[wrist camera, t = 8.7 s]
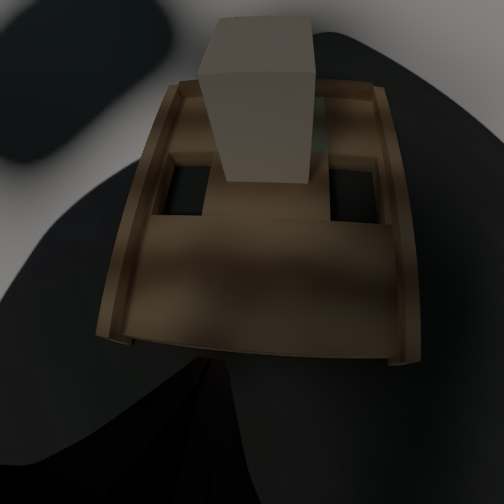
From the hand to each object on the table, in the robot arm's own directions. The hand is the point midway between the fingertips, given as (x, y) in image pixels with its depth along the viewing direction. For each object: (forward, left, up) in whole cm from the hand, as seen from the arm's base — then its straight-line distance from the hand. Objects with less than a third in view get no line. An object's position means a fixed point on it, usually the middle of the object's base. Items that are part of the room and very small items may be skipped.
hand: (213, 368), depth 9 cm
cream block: (+11, +13, -10) cm, 20 cm away
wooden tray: (+8, +10, -12) cm, 18 cm away
